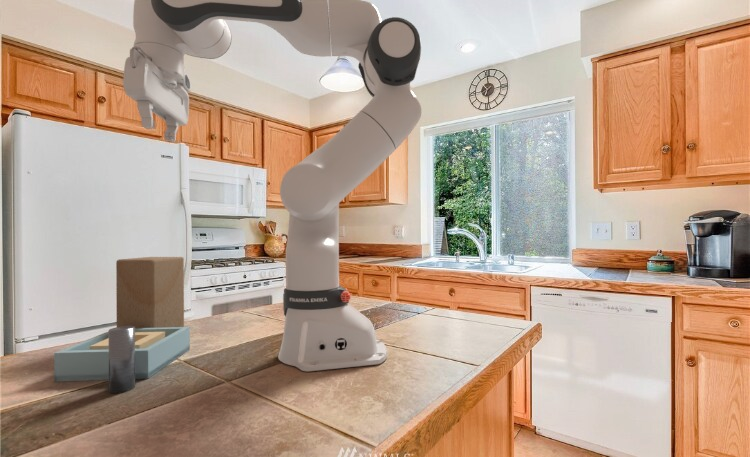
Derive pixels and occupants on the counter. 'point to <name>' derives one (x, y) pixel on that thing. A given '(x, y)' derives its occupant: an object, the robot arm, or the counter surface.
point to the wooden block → (150, 292)
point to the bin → (150, 354)
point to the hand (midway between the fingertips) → (159, 134)
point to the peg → (121, 359)
